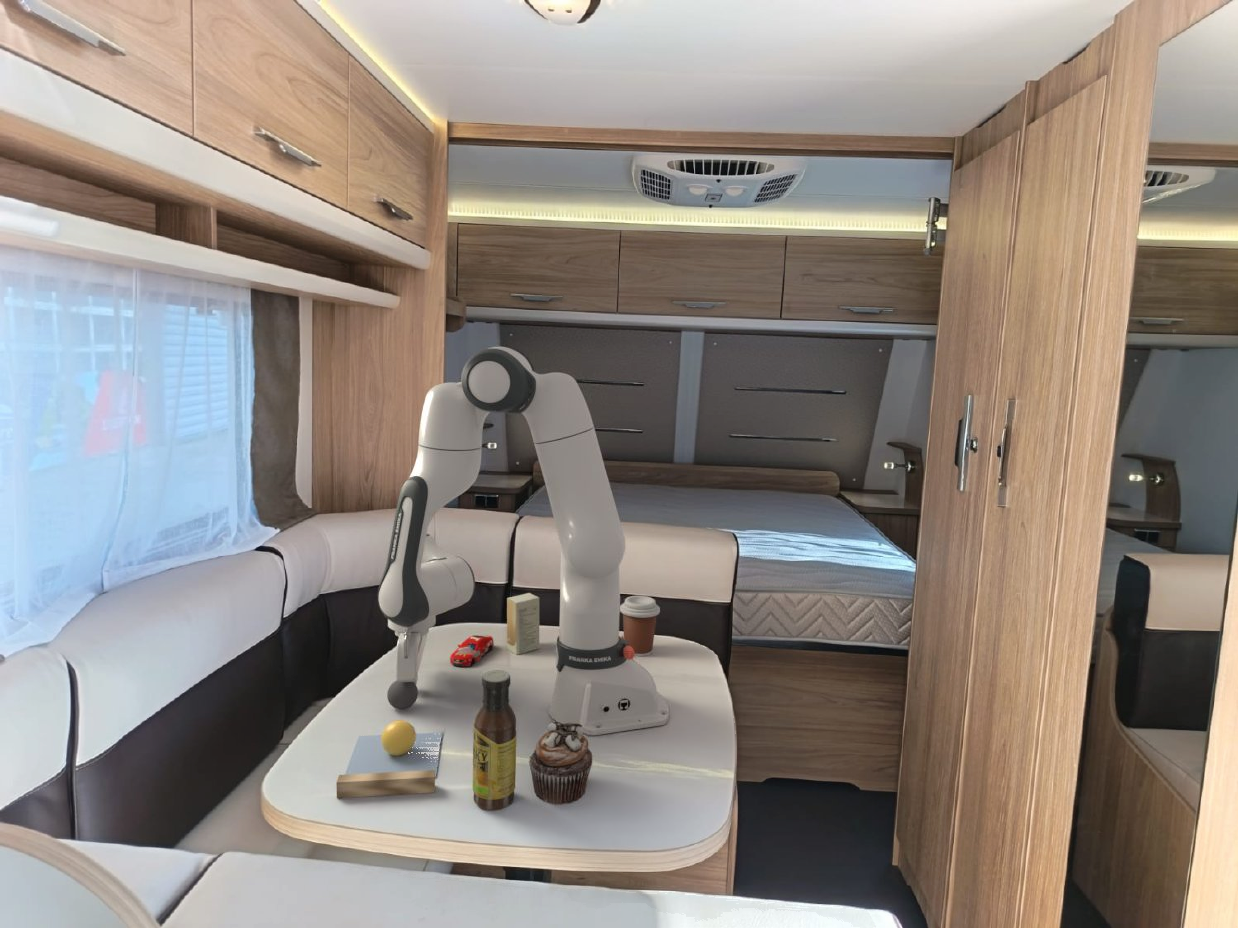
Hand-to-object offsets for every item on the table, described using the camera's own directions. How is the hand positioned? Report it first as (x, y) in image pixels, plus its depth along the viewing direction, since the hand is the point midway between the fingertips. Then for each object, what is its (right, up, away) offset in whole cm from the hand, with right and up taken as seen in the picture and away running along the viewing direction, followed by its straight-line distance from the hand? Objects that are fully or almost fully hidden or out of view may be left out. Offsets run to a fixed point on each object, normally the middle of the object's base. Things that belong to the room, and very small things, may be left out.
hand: (412, 684), depth 146 cm
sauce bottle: (+22, -8, -34) cm, 41 cm away
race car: (+8, 0, +19) cm, 20 cm away
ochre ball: (+4, -2, -23) cm, 23 cm away
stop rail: (+5, -7, -33) cm, 34 cm away
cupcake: (+31, -7, -31) cm, 44 cm away
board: (+4, -5, -23) cm, 24 cm away
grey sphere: (0, 0, -7) cm, 7 cm away
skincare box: (+19, +1, +23) cm, 30 cm away
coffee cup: (+45, 0, +25) cm, 51 cm away
